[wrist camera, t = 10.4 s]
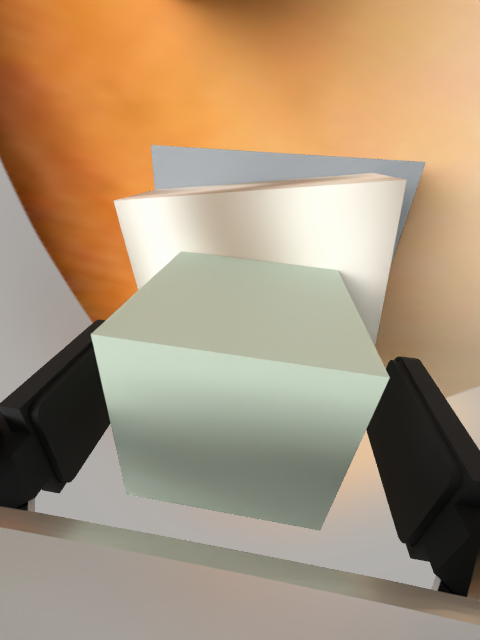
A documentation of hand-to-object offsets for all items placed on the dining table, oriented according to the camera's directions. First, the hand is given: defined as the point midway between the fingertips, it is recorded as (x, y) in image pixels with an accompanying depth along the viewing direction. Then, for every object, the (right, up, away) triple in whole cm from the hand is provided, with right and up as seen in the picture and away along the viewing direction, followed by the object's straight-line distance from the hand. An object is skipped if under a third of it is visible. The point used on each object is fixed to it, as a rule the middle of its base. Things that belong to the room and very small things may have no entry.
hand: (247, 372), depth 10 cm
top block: (+1, +4, +6) cm, 7 cm away
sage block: (0, +2, +3) cm, 3 cm away
